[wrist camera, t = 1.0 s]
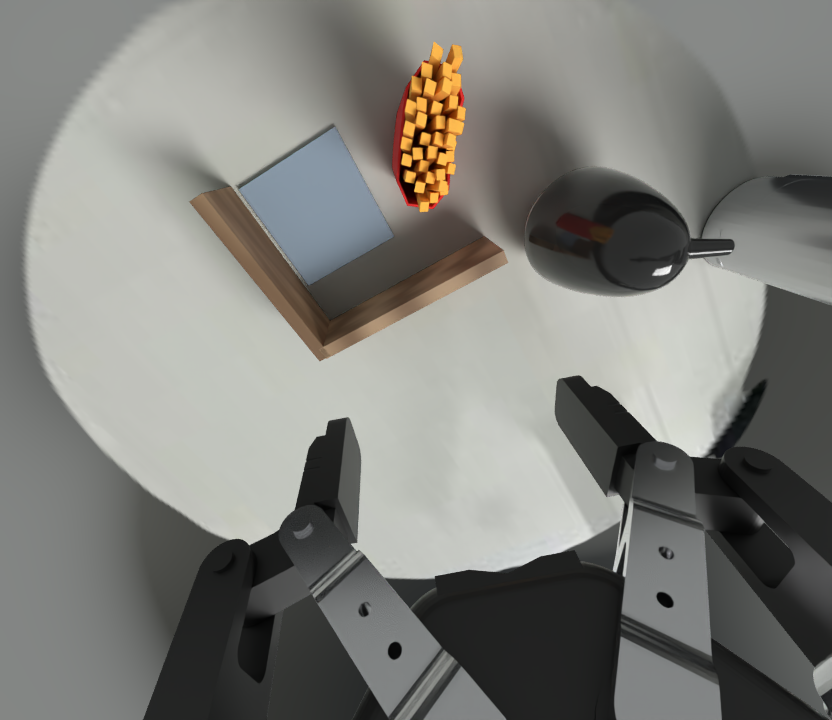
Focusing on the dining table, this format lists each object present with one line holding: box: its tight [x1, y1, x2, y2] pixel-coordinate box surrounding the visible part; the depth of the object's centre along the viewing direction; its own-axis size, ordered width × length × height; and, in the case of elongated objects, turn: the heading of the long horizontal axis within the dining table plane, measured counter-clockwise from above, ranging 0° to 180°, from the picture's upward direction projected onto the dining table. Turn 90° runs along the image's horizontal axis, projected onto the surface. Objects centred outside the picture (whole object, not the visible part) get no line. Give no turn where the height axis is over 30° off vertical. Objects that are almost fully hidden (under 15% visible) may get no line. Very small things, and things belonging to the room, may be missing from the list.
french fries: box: [392, 42, 466, 212], centre depth 25 cm, size 8×4×12 cm, turn 172°
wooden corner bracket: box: [190, 187, 508, 361], centre depth 30 cm, size 20×16×6 cm
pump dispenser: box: [525, 166, 735, 297], centre depth 28 cm, size 10×10×15 cm
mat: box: [239, 127, 394, 285], centre depth 32 cm, size 10×10×1 cm
